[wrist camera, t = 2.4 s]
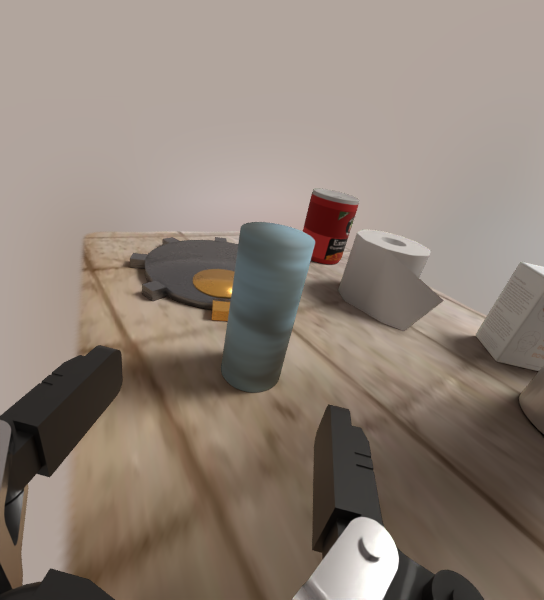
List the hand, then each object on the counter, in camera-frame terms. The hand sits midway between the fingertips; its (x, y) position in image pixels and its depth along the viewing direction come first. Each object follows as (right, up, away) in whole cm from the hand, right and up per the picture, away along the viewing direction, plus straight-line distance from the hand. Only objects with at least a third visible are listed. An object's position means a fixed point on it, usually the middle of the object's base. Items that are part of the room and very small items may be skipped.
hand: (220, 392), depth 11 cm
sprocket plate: (-5, +7, +30) cm, 31 cm away
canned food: (+10, +11, +44) cm, 46 cm away
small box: (+32, -3, +25) cm, 41 cm away
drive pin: (0, -2, +14) cm, 15 cm away
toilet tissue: (+16, +3, +31) cm, 35 cm away
